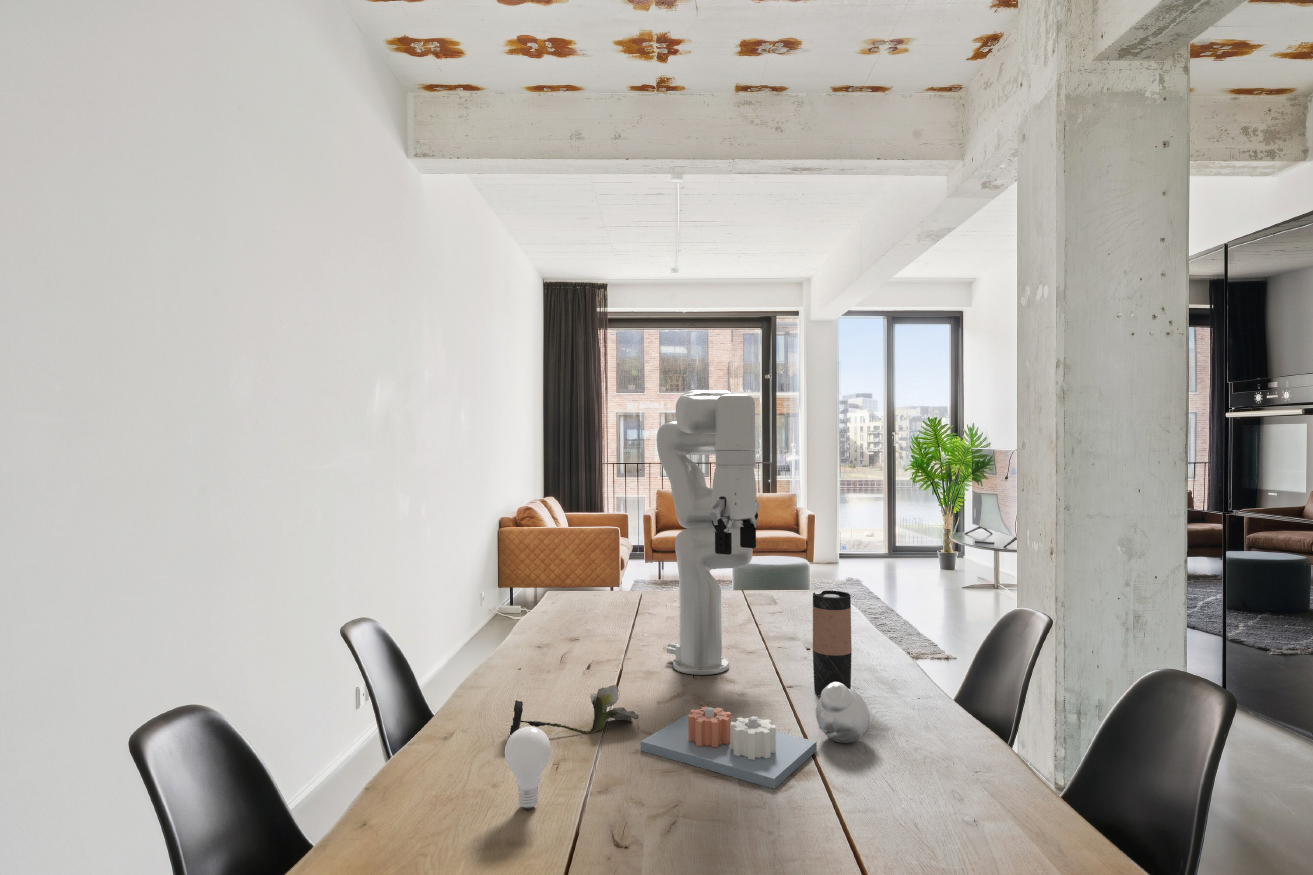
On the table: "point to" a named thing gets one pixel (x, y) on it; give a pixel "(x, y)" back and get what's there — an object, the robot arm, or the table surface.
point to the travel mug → (831, 639)
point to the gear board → (731, 754)
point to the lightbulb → (528, 761)
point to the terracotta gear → (709, 727)
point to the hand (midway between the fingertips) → (736, 550)
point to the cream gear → (753, 738)
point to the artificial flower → (600, 704)
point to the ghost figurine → (842, 713)
